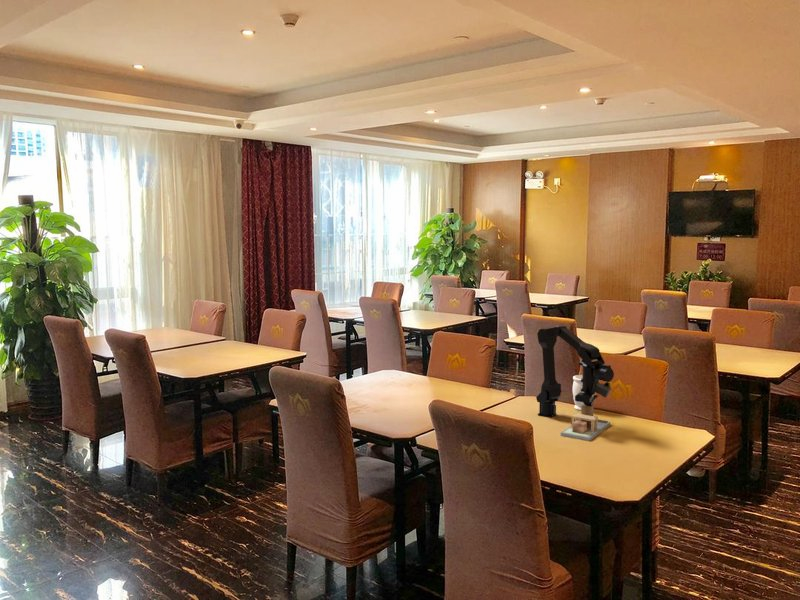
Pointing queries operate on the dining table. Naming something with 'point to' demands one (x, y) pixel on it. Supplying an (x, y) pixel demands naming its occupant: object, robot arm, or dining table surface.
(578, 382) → the jar
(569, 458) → the dining table surface
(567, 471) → the dining table surface
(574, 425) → the wooden block
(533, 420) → the dining table surface
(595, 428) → the bridge deck
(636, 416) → the dining table surface
